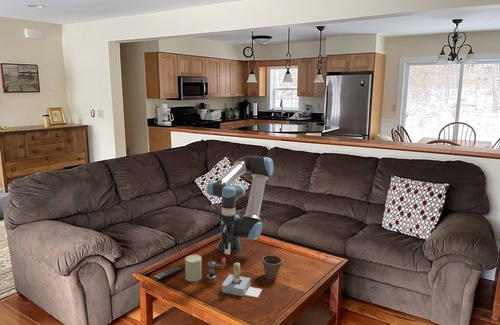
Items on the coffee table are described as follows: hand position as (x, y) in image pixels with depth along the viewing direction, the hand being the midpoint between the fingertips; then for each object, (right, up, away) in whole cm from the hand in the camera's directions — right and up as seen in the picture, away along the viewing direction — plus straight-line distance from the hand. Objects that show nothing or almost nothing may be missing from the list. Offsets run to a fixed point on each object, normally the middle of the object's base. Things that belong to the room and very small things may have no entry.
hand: (227, 253), depth 212 cm
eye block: (+5, -16, -12) cm, 21 cm away
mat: (+15, -17, -16) cm, 27 cm away
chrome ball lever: (-6, -7, -3) cm, 9 cm away
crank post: (-9, -13, -1) cm, 15 cm away
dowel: (+5, -16, -12) cm, 21 cm away
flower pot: (+25, -13, +3) cm, 29 cm away
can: (-19, -13, -2) cm, 23 cm away
